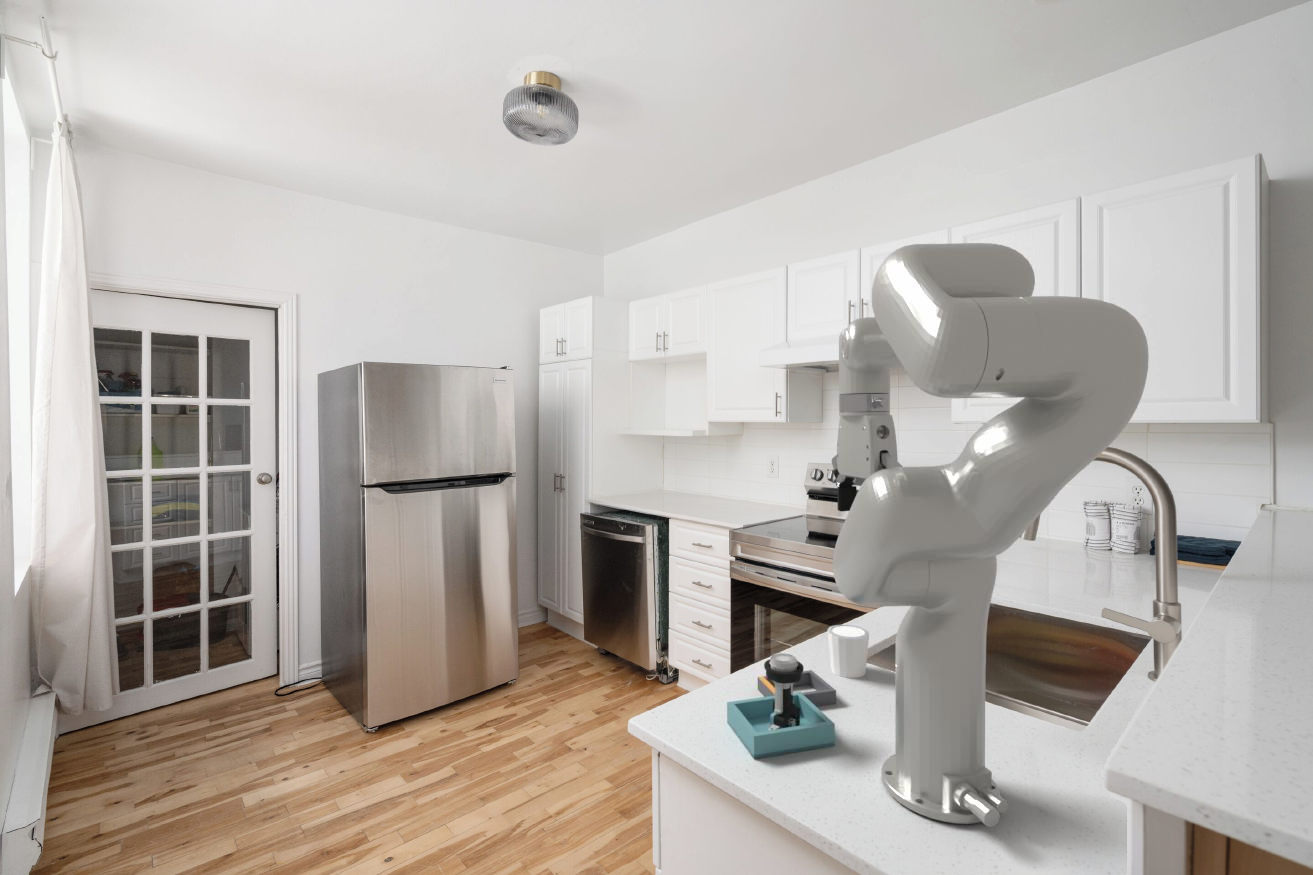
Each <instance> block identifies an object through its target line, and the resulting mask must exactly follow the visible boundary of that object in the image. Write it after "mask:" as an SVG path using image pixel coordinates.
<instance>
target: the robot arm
mask: <svg viewBox="0 0 1313 875" xmlns="http://www.w3.org/2000/svg"><path fill="white" fill-rule="evenodd" d="M1035 276H1036V275H1035V272H1034V269H1033V265H1032V264H1031V263H1030V261H1029V259H1027V257H1025V256H1024V255H1023V254H1022V253H1021V252H1019V251H1017V250H1016V249H1014V248H1012V247H1009V246H1007V245H1002V244H997V243H992V242H991V243H987V242H985V243H983V242H964V243H963V242H961V243H959V242H958V243H914V244H909V245H904V246H901V247H899V248H897V249H895V250H894V251H892V252H891V253H890V254H889V255H887V257H886V258H885V259H884V260H883V261H882V263H881V264H880V266H879V267H878V270H877V271H876V274H875V276H874V279H873V283H872V288H871V306H872V312H873V315H874V316H873V317H872V316H870V317H860V318H856V319H854V320H852V321H851V322H850V323H849V325H848V326H847V328H843V330H842V331H841V332H840V333H839V337H838V409H839V410H838V416H839V420H838V421H839V422H838V428H837V442H836V455H835V456H833V457H832V459H831V464H832V469H833V476H834V478H835V486H836V487H837V511H839V512H848V513H847V516H846V517H845V520H844V523H843V525H842V527H841V529H840V532H839V533H838V536H837V540H836V541H835V542H836V543H835V546H834V550H833V555H832V570H833V571H832V572H833V576H834V580H835V584H836V585H837V588H838V591H839V592H840V593H841V594H842V595H843V597H845V598H846V599H847V600H848V601H850V602H851V603H853V604H856V605H858V606H863V607H909V609H908V610H907V611H906V613H905V615H903V616H904V617H903V618H902V620H901V622H900V624H899V626H898V629H897V631H896V635H895V636H896V637H895V662H894V663H895V679H894V680H895V682H894V683H895V688H894V689H895V690H894V691H895V693H894V694H895V697H894V698H895V699H894V700H895V704H894V706H895V712H894V713H895V714H894V715H895V716H894V717H895V718H894V719H895V720H894V722H895V728H894V729H895V730H894V732H895V733H894V734H895V745H894V746H895V752H894V754H892V755H891V756H890V757H888V758H886V759H885V761H884V762H883V764H882V768H881V780H882V784H883V786H884V788H885V789H886V791H887V792H888V793H889V794H890V796H891V797H892V798H893V799H894V800H895V801H897V802H899V803H900V804H901V805H902V806H903V807H906V808H907V809H908V810H911V811H912V812H915V813H916V814H919V815H921V816H924V817H927V818H929V819H932V820H937V821H940V822H945V823H949V824H957V825H958V824H959V825H962V824H963V825H965V824H966V825H969V824H978V823H982V824H984V825H985V826H986V827H988V828H994V827H996V826H997V824H999V821H1000V818H1001V816H1000V814H1004V813H1006V811H1007V810H1008V808H1009V804H1008V803H1009V802H1008V801H1007V800H1006V799H1004V798H1003V797H1002V796H1001V792H1000V789H999V787H998V785H997V783H996V782H995V781H994V780H993V778H992V774H993V772H992V771H991V770H990V769H989V768H987V767H986V668H987V667H986V666H987V634H988V633H987V630H988V621H989V620H988V618H989V613H990V608H991V601H992V597H993V593H994V589H995V588H994V587H995V585H996V578H997V571H998V570H997V567H998V563H997V556H998V555H1001V554H1002V553H1004V552H1006V550H1009V548H1010V547H1011V546H1012V545H1013V544H1014V543H1015V542H1017V540H1019V538H1020V537H1021V536H1023V534H1024V533H1025V532H1026V531H1027V529H1028V528H1029V527H1030V526H1031V525H1032V524H1033V523H1034V522H1035V521H1036V520H1037V518H1038V517H1039V516H1040V515H1041V514H1042V513H1043V511H1045V509H1047V507H1049V505H1050V504H1051V503H1052V501H1053V500H1054V499H1055V498H1056V497H1057V496H1058V494H1059V493H1060V491H1061V490H1062V489H1063V488H1065V486H1066V485H1067V484H1069V483H1070V482H1071V481H1072V480H1073V479H1074V478H1075V477H1076V476H1077V475H1078V474H1079V473H1080V472H1082V471H1083V470H1085V469H1086V468H1087V466H1089V465H1090V464H1091V463H1092V462H1093V461H1095V459H1097V458H1098V457H1099V456H1101V454H1102V453H1103V452H1104V451H1106V449H1107V448H1108V447H1109V446H1110V445H1111V444H1113V443H1114V441H1115V440H1116V439H1117V438H1118V437H1119V435H1120V434H1121V433H1122V432H1123V430H1124V429H1125V428H1126V427H1127V425H1128V423H1129V422H1130V420H1132V418H1133V416H1134V414H1135V412H1136V410H1137V409H1138V406H1139V404H1140V401H1141V399H1142V396H1143V394H1144V390H1145V387H1146V382H1147V377H1148V371H1149V359H1150V358H1149V345H1148V340H1147V336H1146V333H1145V331H1144V329H1143V327H1142V326H1141V323H1140V322H1139V321H1138V319H1137V318H1136V317H1135V316H1134V315H1133V314H1132V313H1130V312H1129V311H1128V310H1126V309H1124V308H1122V307H1120V306H1119V305H1116V304H1114V303H1111V302H1107V301H1104V300H1101V299H1100V300H1099V299H1095V298H1088V297H1079V296H1078V297H1077V296H1066V295H1064V296H1063V295H1060V296H1059V295H1057V296H1055V295H1041V296H1039V295H1038V296H1034V295H1033V294H1034V290H1035V285H1036V280H1035V279H1036V278H1035ZM892 370H893V371H900V370H901V371H904V372H906V374H907V375H908V377H909V379H910V380H911V381H912V382H913V384H914V385H915V387H917V388H918V389H920V391H923V392H924V393H926V394H928V395H930V396H933V397H937V398H942V399H943V398H944V399H996V398H997V399H1001V398H1003V399H1004V398H1005V399H1006V398H1010V399H1013V398H1015V399H1017V398H1022V399H1020V401H1018V402H1016V403H1015V404H1014V405H1012V406H1010V407H1008V408H1007V409H1005V410H1004V411H1001V412H1000V413H998V414H997V415H995V416H993V417H992V418H991V419H989V420H987V421H986V422H985V423H984V424H983V425H981V427H979V428H978V429H977V431H975V432H974V433H973V434H972V435H971V437H970V438H969V439H968V441H967V442H966V444H965V446H964V447H963V449H962V451H961V453H960V454H959V456H958V457H957V458H955V460H953V461H952V462H951V463H950V462H949V463H948V464H947V463H946V464H942V465H933V466H930V465H929V466H926V465H925V466H903V465H902V464H901V463H900V462H899V461H898V460H899V459H898V447H897V446H898V444H897V435H896V428H895V422H894V418H893V415H892V414H891V371H892ZM857 479H858V480H861V481H863V482H862V484H861V486H860V487H859V489H858V491H857V486H856V485H855V483H856V481H857Z"/></svg>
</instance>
